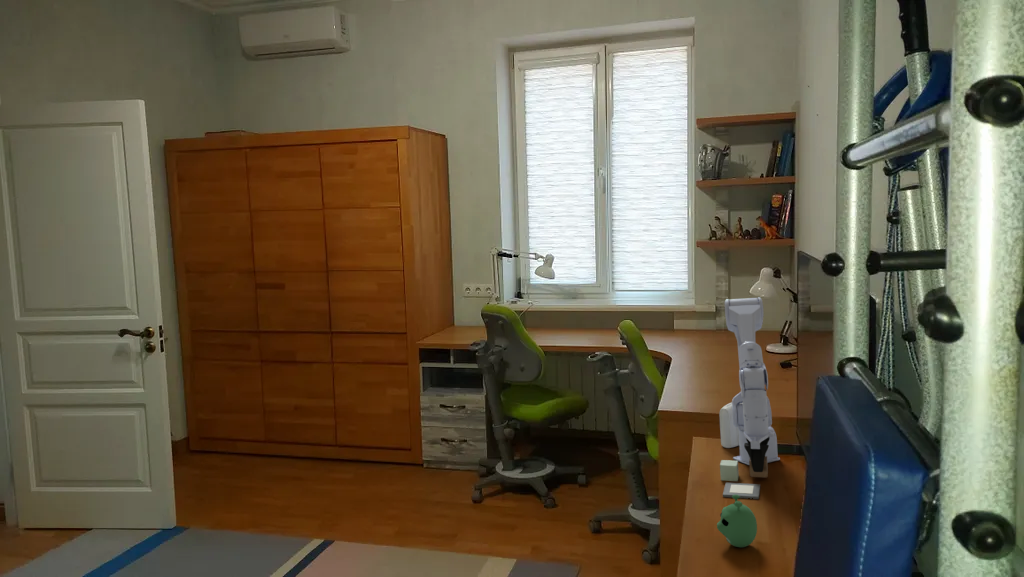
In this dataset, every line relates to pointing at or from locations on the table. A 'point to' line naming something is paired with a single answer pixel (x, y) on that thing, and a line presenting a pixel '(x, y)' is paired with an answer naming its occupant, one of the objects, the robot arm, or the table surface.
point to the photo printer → (728, 427)
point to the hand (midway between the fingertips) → (758, 468)
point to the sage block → (729, 470)
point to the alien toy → (738, 524)
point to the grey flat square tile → (742, 490)
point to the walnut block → (759, 474)
